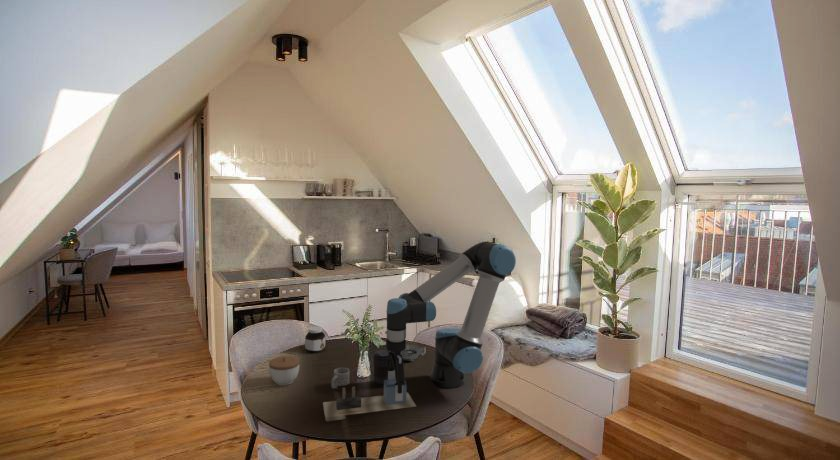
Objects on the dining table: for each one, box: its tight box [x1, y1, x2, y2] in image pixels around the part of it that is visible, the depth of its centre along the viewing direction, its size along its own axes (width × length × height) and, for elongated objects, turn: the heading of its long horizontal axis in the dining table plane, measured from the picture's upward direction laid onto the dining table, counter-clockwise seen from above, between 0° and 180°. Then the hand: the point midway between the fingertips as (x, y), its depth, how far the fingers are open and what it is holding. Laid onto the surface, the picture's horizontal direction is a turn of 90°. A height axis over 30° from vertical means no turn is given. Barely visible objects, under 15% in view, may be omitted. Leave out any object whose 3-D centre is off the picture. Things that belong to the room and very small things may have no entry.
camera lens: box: [373, 349, 389, 388], centre depth 192 cm, size 8×8×15 cm
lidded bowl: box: [268, 355, 301, 386], centre depth 194 cm, size 13×13×11 cm
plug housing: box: [383, 378, 408, 405], centre depth 176 cm, size 8×4×8 cm, turn 107°
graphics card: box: [401, 343, 427, 362], centre depth 228 cm, size 17×4×12 cm
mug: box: [330, 367, 350, 390], centre depth 191 cm, size 10×7×7 cm, turn 154°
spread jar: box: [304, 325, 326, 354], centre depth 234 cm, size 12×11×12 cm
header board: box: [322, 386, 417, 422], centre depth 173 cm, size 34×12×9 cm, turn 107°
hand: (394, 393), depth 176 cm, fingers open, 11 cm apart
